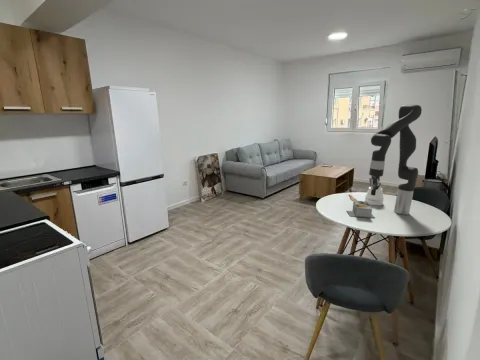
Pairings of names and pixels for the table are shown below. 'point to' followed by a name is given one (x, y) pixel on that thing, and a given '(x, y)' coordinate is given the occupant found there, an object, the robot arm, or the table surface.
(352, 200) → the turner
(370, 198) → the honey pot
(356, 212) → the coffee box
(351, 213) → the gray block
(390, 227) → the table surface
